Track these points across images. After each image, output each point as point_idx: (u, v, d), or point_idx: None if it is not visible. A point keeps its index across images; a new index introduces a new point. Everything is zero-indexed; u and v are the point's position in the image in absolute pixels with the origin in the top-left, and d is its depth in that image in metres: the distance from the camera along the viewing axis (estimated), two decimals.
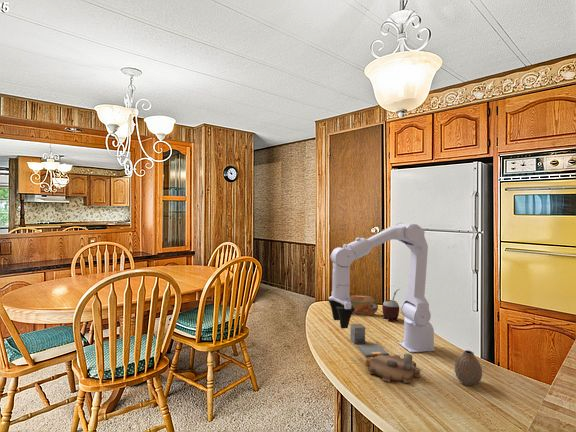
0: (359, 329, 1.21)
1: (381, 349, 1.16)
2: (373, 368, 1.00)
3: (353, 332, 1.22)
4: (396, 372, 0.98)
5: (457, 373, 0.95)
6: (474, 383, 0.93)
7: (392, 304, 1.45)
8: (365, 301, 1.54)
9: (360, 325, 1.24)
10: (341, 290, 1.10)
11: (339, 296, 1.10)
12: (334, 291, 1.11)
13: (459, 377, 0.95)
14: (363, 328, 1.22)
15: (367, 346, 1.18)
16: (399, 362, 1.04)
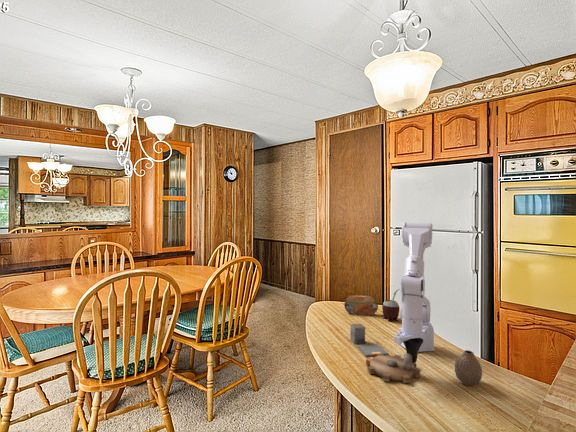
0: (359, 329, 1.21)
1: (381, 349, 1.16)
2: (373, 368, 1.00)
3: (353, 332, 1.22)
4: (396, 372, 0.98)
5: (457, 373, 0.95)
6: (474, 383, 0.93)
7: (392, 304, 1.45)
8: (365, 301, 1.54)
9: (360, 325, 1.24)
10: (404, 322, 0.99)
11: (403, 328, 1.00)
12: None
13: (459, 377, 0.95)
14: (363, 328, 1.22)
15: (367, 346, 1.18)
16: (399, 362, 1.04)
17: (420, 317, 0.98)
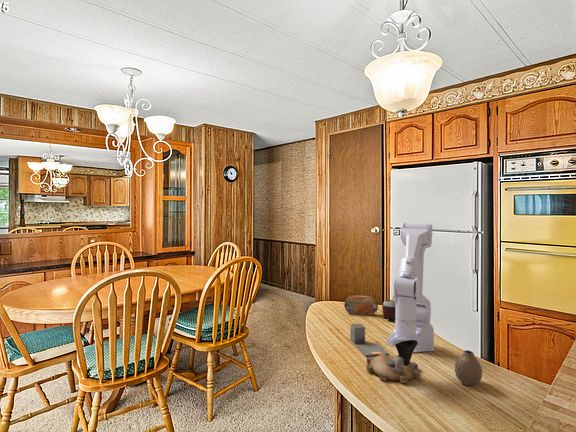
0: (359, 329, 1.21)
1: (381, 349, 1.16)
2: (370, 359, 1.06)
3: (353, 332, 1.22)
4: (382, 368, 1.00)
5: (457, 373, 0.95)
6: (474, 383, 0.93)
7: (392, 304, 1.45)
8: (365, 301, 1.54)
9: (360, 325, 1.24)
10: (397, 324, 0.98)
11: (396, 330, 0.98)
12: None
13: (459, 377, 0.95)
14: (363, 328, 1.22)
15: (367, 346, 1.18)
16: None
17: (413, 319, 0.96)
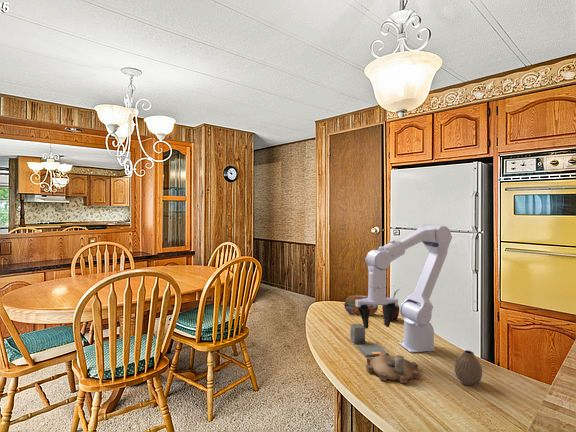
0: (359, 329, 1.21)
1: (381, 349, 1.16)
2: (370, 359, 1.06)
3: (353, 332, 1.22)
4: (382, 368, 1.00)
5: (457, 373, 0.95)
6: (474, 383, 0.93)
7: None
8: None
9: (360, 325, 1.24)
10: (368, 290, 1.13)
11: (368, 295, 1.13)
12: None
13: (459, 377, 0.95)
14: (363, 328, 1.22)
15: (367, 346, 1.18)
16: None
17: (377, 286, 1.10)
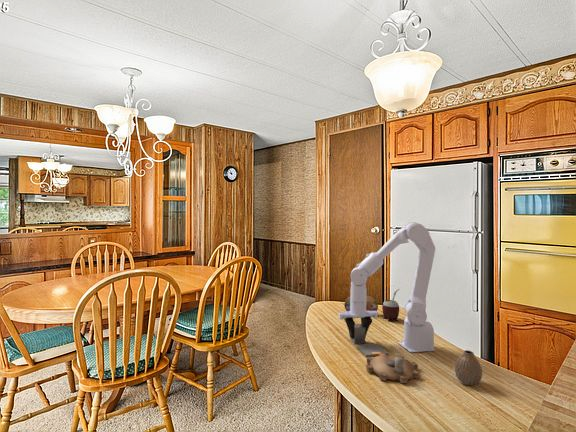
0: (359, 329, 1.21)
1: (381, 349, 1.16)
2: (370, 359, 1.06)
3: None
4: (382, 368, 1.00)
5: (457, 373, 0.95)
6: (474, 383, 0.93)
7: (392, 304, 1.45)
8: None
9: (360, 325, 1.24)
10: (350, 304, 1.23)
11: (350, 309, 1.24)
12: None
13: (459, 377, 0.95)
14: (363, 328, 1.22)
15: (367, 346, 1.18)
16: None
17: (353, 300, 1.21)
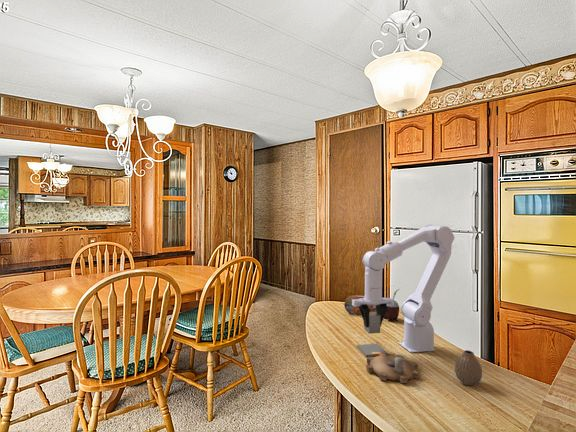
0: (374, 317, 1.14)
1: (381, 349, 1.16)
2: (370, 359, 1.06)
3: None
4: (382, 368, 1.00)
5: (457, 373, 0.95)
6: (474, 383, 0.93)
7: None
8: None
9: (375, 313, 1.16)
10: None
11: None
12: None
13: (459, 377, 0.95)
14: (378, 316, 1.14)
15: (367, 346, 1.18)
16: None
17: (371, 286, 1.13)
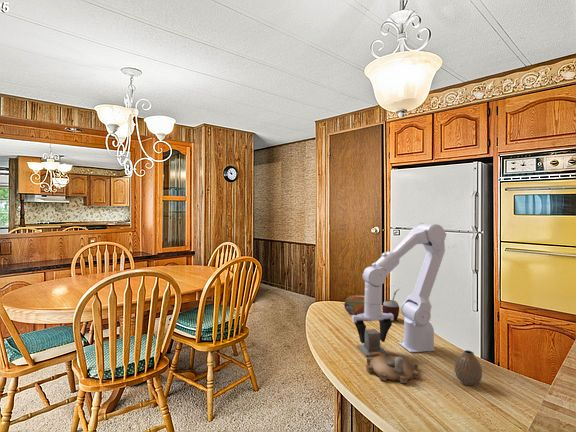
0: (374, 335, 1.14)
1: (381, 349, 1.16)
2: (370, 359, 1.06)
3: (367, 338, 1.15)
4: (382, 368, 1.00)
5: (457, 373, 0.95)
6: (474, 383, 0.93)
7: (392, 304, 1.45)
8: None
9: (374, 331, 1.16)
10: (364, 306, 1.16)
11: (364, 311, 1.16)
12: None
13: (459, 377, 0.95)
14: (378, 334, 1.14)
15: None
16: None
17: (371, 302, 1.13)
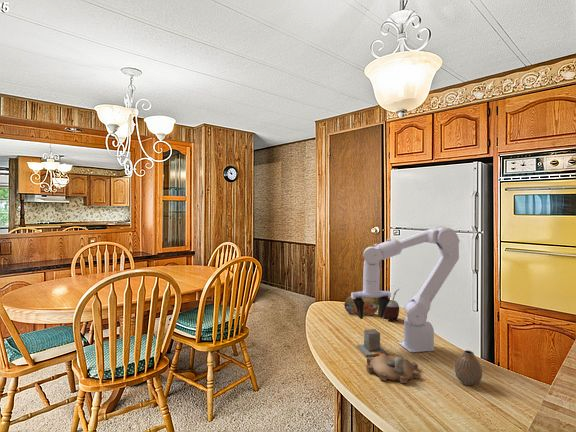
0: (374, 335, 1.14)
1: (381, 349, 1.16)
2: (370, 359, 1.06)
3: (367, 338, 1.15)
4: (382, 368, 1.00)
5: (457, 373, 0.95)
6: (474, 383, 0.93)
7: (392, 304, 1.45)
8: (365, 301, 1.54)
9: (374, 331, 1.16)
10: (363, 284, 1.22)
11: (363, 289, 1.22)
12: None
13: (459, 377, 0.95)
14: (378, 334, 1.14)
15: None
16: None
17: (366, 279, 1.19)
